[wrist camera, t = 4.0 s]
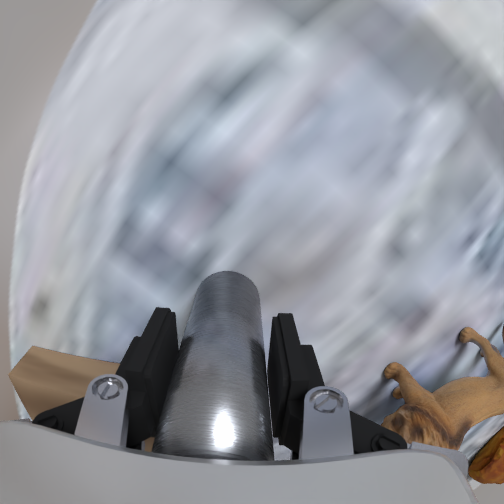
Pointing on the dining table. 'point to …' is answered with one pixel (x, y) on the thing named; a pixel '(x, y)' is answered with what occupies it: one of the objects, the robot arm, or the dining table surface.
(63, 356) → the block
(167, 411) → the key peg
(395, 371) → the lion figurine
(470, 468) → the croissant
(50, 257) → the dining table surface
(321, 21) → the dining table surface
